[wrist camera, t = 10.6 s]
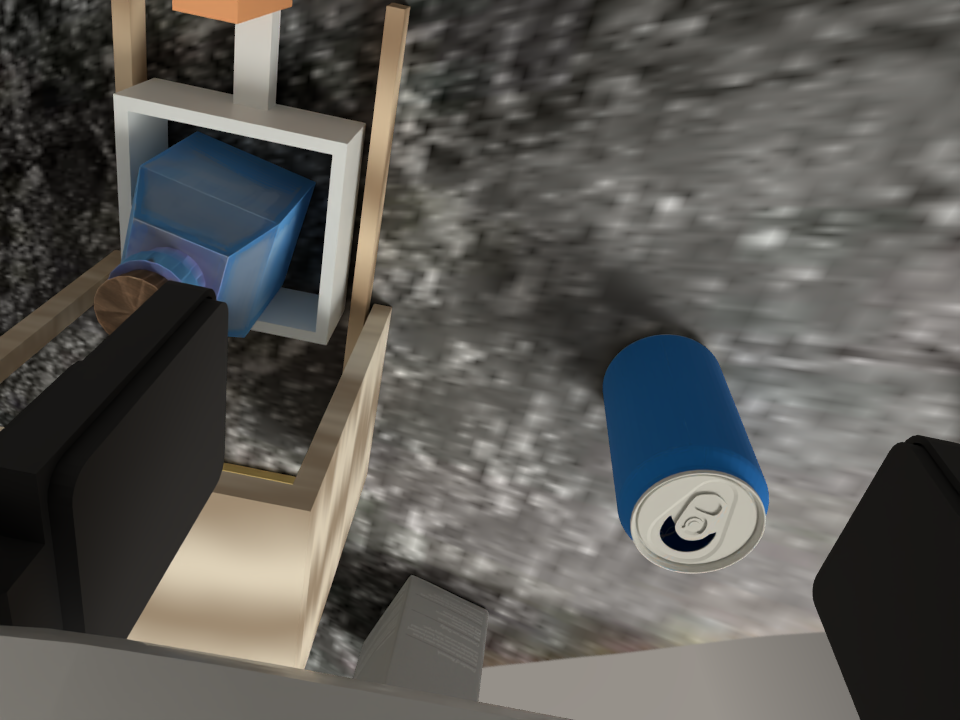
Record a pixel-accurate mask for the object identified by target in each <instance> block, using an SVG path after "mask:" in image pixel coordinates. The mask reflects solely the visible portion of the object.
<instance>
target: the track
mask: <svg viewBox="0 0 960 720" xmlns="http://www.w3.org/2000/svg"><path fill="white" fill-rule="evenodd" d="M111 5H112V25H113V46H114V67H115V88H116V93H117V92H119V91H122V90H124V89H127V88H129V87H132V86H134V85H137V84H140V83H142V82H145V81H147V57H146V21H145V0H111ZM409 12H410V6H406V5H401V4H397V3H391V4H389V5H387V7H386V15H385V23H384V32H383V40H382V48H381V57H380V65H379V73H378V82H377V90H376V98H375V107H374V115H373V124H372V132H371V140H370V149H369V157H368V165H367V174H366V182H365V190H364V199H363V207H362V215H361V224H360V232H359V240H358V249H357V257H356V265H355V274H354V282H353V290H352V299H351V307H350V315H349V324H348V332H347V340H346V349H345V357H344V365H343V371H344V369H345V367H346V365H347V362H348V360H349V358H350V356H351V354H352V351H353V349H354V347H355V345H356V342H357V340H358V338H359V336H360V334H361V331H362V329H363V327H364V325H365V322H366V320H367V318H368V316H369V310H370V302H371V295H372V287H373V280H374V272H375V265H376V258H377V250H378V243H379V235H380V228H381V220H382V213H383V206H384V198H385V191H386V183H387V176H388V168H389V161H390V153H391V146H392V139H393V131H394V124H395V116H396V109H397V101H398V94H399V86H400V79H401V72H402V64H403V57H404V49H405V42H406V34H407V27H408V20H409Z"/></svg>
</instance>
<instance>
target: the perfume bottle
mask: <svg viewBox="0 0 960 720" xmlns="http://www.w3.org/2000/svg"><path fill="white" fill-rule="evenodd" d="M315 184H316V182H314V181H312V180H310V179H307V178H305V177H303V176H300V175H298V174H296V173H293V172H291V171H289V170H286V169H284V168H282V167H279V166H277V165H275V164H273V163H270V162H268V161H266V160H263V159H261V158H259V157H256V156H254V155H252V154H249V153H247V152H245V151H242V150H240V149H238V148H235V147H233V146H231V145H228V144H226V143H224V142H222V141H219V140H217V139H215V138H212V137H210V136H208V135H205V134H203V133H201V132H198V131H197V132H195V133H193V134H192V135H190V136H188V137H187V138H185V139H183V140H182V141H180V142H178V143H177V144H175V145H173V146H172V147H170V148H168V149H167V150H165V151H163V152H162V153H160V154H158V155H157V156H155V157H153V158H152V159H150V160H148V161H147V162H145V163H143V164H142V165H140V167H139V172H138V177H137V182H136V188H135V193H134V198H133V203H132V208H131V213H130V218H129V223H128V228H127V234H126V239H125V244H124V249H123V254H122V259H121V264H119V265H118V266H117V267H116V268H115V269H114V270H113V271H112V272H111V273H110V276H109V278H108V280H106V281H105V282H104V283H103V284H102V285H101V286H100V287H99V288H98V289H97V292H96V294H95V297H94V311H95V313H96V316H97V319H98V321H99V323H100V324H101V326H102V327H103V329H104V330H105V331H106V332H107V333H108V334H109V335H110V334H111V333H112V332H113V331H115V330H116V329H117V328H118V327H119V326H120V325H121V324H122V323H123V322H124V321H125V320H126V319H127V318H128V317H129V316H130V315H132V314H133V313H134V312H135V311H136V310H137V309H138V308H139V307H140V306H141V305H142V304H143V303H144V302H145V301H146V300H147V299H148V298H150V297H151V296H152V295H153V294H154V293H155V292H156V291H157V290H158V289H159V288H160V287H161V286H162V285H163V284H164V283H166V282H167V281H169V280H172V281H177V282H182V283H187V284H192V285H196V286H201V287H206V288H211V289H213V290H214V292H215V294H216V299H217V301H222V302H226V304H227V306H228V336H229V337H242V338H245V336H246V335H247V334H248V332H249V331H250V330H251V328H252V327H253V325H254V324H255V323H256V321H257V320H258V318H259V317H260V316H261V314H262V313H263V312H264V310H265V309H266V307H267V306H268V305H269V303H270V302H271V300H272V299H273V298H274V296H275V295H276V294H277V292H278V291H279V289H280V288H281V287H282V285H283V283H284V280H285V277H286V274H287V271H288V268H289V265H290V262H291V259H292V256H293V252H294V249H295V246H296V243H297V240H298V237H299V234H300V231H301V228H302V225H303V221H304V218H305V215H306V212H307V209H308V206H309V203H310V200H311V197H312V194H313V191H314V187H315Z"/></svg>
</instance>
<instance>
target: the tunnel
mask: <svg viewBox="0 0 960 720" xmlns="http://www.w3.org/2000/svg"><path fill="white" fill-rule="evenodd" d="M119 264H121V251H119V250H114V251H113V252H112V253H110V254H109V255H108V256H106V257H105V258H104V259H102V260H101V261H100V262H98V263H97V264H96V265H94V266H93V267H92V268H90V269H89V270H88V271H86V272H85V273H84V274H83V275H81V276H80V277H79V278H77V279H76V280H75V281H73V282H72V283H71V284H69V285H68V286H67V287H65V288H64V289H63V290H61V291H60V292H59V293H57V294H56V295H55V296H53V297H52V298H51V299H49V300H48V301H47V302H46V303H44V304H43V305H42V306H40V307H39V308H38V309H36V310H35V311H34V312H32V313H31V314H30V315H28V316H27V317H26V318H24V319H23V320H22V321H20V322H19V323H18V324H16V325H15V326H14V327H13V328H11V329H10V330H9V331H7V332H6V333H5V334H3V335H2V336H1V337H0V383H1V382H2V381H4V380H5V379H6V378H7V377H8V376H9V375H11V374H12V373H13V372H14V371H15V370H17V369H18V368H19V367H20V366H21V365H23V364H24V363H25V362H26V361H27V360H28V359H30V358H31V357H32V356H33V355H34V354H36V353H37V352H38V351H39V350H40V349H42V348H43V347H44V346H45V345H46V344H47V343H49V342H50V341H51V340H52V339H53V338H55V337H56V336H57V335H58V334H59V333H60V332H62V331H63V330H64V329H65V328H66V327H68V326H69V325H70V324H71V323H72V322H74V321H75V320H76V319H77V318H78V317H79V316H81V315H82V314H83V313H84V312H85V311H87V310H88V309H89V308H90V307H91V306H93V305H94V297H95V294H96V292H97V289H98V288H99V287H100V286H101V285H102V284H103V283H104V282H105V281H106V280H108V278H109V276H110V273H111V272H112V271H113V270H114V269H115V268H116V267H117V266H118V265H119ZM391 311H392V307H389V306H384V305H379V304H374V305H373V307H372V309H371V311H370V314H369V316H368V318H367V320H366V322H365V325H364V327H363V329H362V331H361V334H360V336H359V338H358V340H357V342H356V345H355V347H354V349H353V351H352V354H351V356H350V358H349V360H348V362H347V365H346V367H345V369H344V371H343V374H342V376H341V378H340V380H339V382H338V385H337V387H336V389H335V391H334V394H333V396H332V398H331V400H330V403H329V405H328V407H327V409H326V411H325V414H324V416H323V418H322V420H321V423H320V425H319V427H318V429H317V431H316V434H315V436H314V438H313V440H312V443H311V445H310V447H309V449H308V451H307V454H306V456H305V458H304V460H303V463H302V465H301V467H300V469H299V471H298V474H297V476H296V478H295V480H294V483H293V485H292V484H287V483H282V482H277V481H272V480H267V479H262V478H257V477H252V476H247V475H242V474H237V473H232V472H227V471H222V473H221V476H220V479H219V481H218V483H217V485H216V487H215V489H214V490H213V492H212V494H211V496H210V497H209V499H208V501H207V502H206V504H205V506H204V508H203V509H202V511H201V513H200V514H199V516H198V518H197V520H196V521H195V523H194V525H193V526H192V528H191V530H190V531H189V533H188V535H187V537H186V538H185V540H184V542H183V543H182V545H181V547H180V549H179V550H178V552H177V554H176V555H175V557H174V559H173V561H172V562H171V564H170V566H169V567H168V569H167V571H166V573H165V574H164V576H163V578H162V579H161V581H160V583H159V584H158V586H157V588H156V590H155V591H154V593H153V595H152V596H151V598H150V600H149V602H148V603H147V605H146V607H145V608H144V610H143V612H142V614H141V615H140V617H139V619H138V620H137V622H136V624H135V626H134V627H133V629H132V631H131V632H130V634H129V636H128V638H127V639H129V640H135V641H141V642H147V643H153V644H160V645H166V646H172V647H178V648H183V649H189V650H195V651H201V652H207V653H213V654H219V655H224V656H230V657H236V658H242V659H248V660H254V661H260V662H266V663H271V664H277V665H283V666H288V667H293V668H299V669H304V668H305V665H306V662H307V659H308V656H309V653H310V650H311V647H312V644H313V641H314V637H315V634H316V631H317V628H318V625H319V622H320V619H321V616H322V613H323V609H324V606H325V603H326V600H327V597H328V594H329V591H330V588H331V585H332V582H333V578H334V575H335V572H336V569H337V566H338V563H339V560H340V557H341V554H342V551H343V547H344V544H345V541H346V538H347V535H348V532H349V529H350V526H351V523H352V520H353V516H354V513H355V510H356V507H357V504H358V501H359V498H360V495H361V492H362V489H363V485H364V482H365V479H366V476H367V470H368V463H369V456H370V450H371V443H372V437H373V430H374V423H375V417H376V410H377V403H378V397H379V390H380V384H381V377H382V370H383V364H384V357H385V351H386V344H387V337H388V331H389V324H390V317H391ZM3 428H4V427H0V431H1V430H2V429H3Z"/></svg>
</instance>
